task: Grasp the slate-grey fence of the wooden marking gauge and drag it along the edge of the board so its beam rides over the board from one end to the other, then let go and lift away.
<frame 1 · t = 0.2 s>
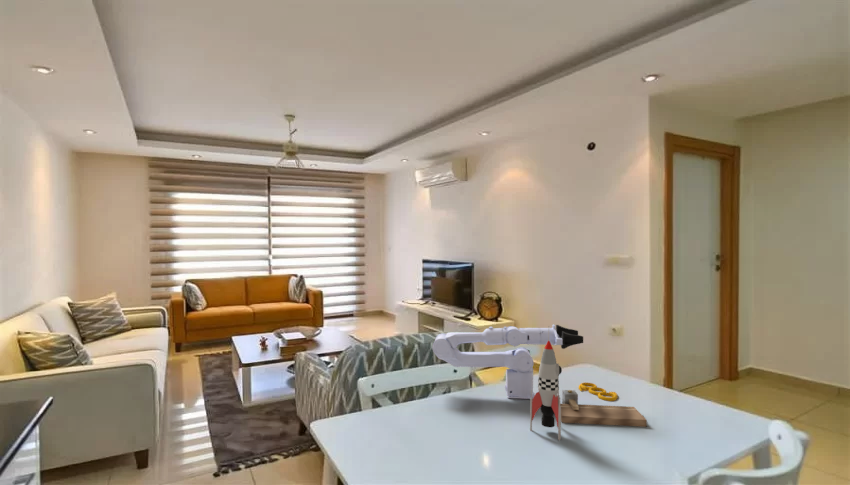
hand: (580, 336, 150), 21 cm above the table, tool horizontal, fingers open, 7 cm apart
toy: (545, 432, 124), on the table
gauge: (569, 407, 142), on the table
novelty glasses: (597, 394, 156), on the table
board: (599, 417, 134), on the table
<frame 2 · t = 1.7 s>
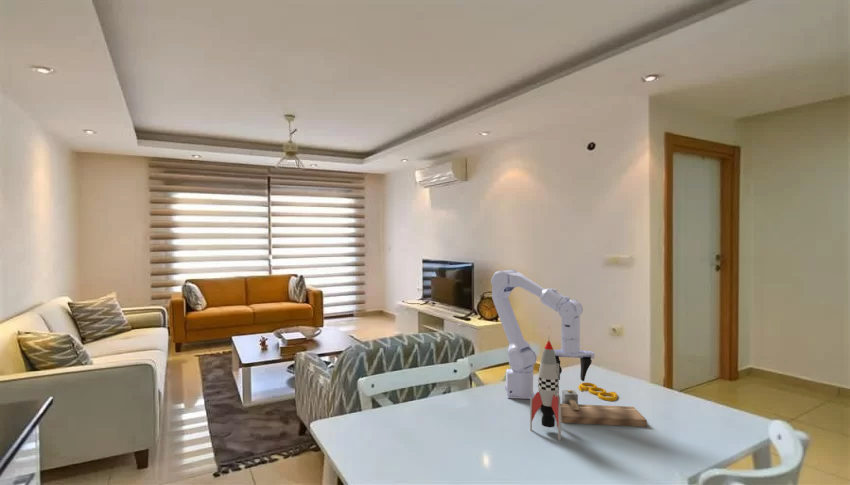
hand: (570, 379, 142), 9 cm above the table, tool pointing down, fingers open, 7 cm apart
nothing on the table moved.
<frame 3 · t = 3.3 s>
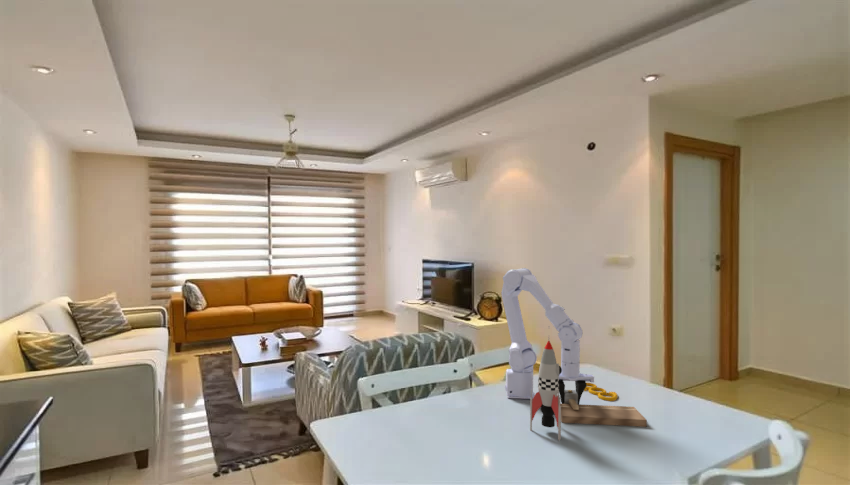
hand: (569, 403, 142), 1 cm above the table, tool pointing down, fingers closed on gauge, 4 cm apart
gauge: (569, 407, 142), on the table, touching gripper
everything else where it was.
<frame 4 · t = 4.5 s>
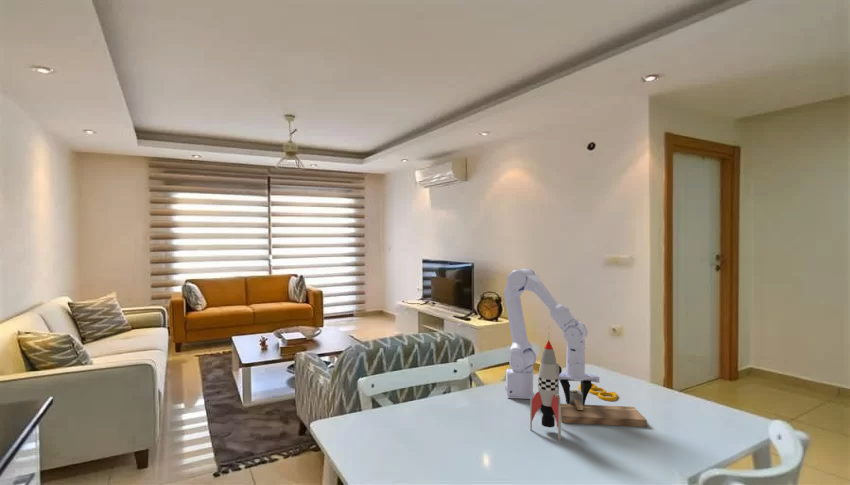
hand: (575, 403, 142), 1 cm above the table, tool pointing down, fingers closed on gauge, 4 cm apart
gauge: (575, 407, 142), on the table, touching gripper
everything else where it was.
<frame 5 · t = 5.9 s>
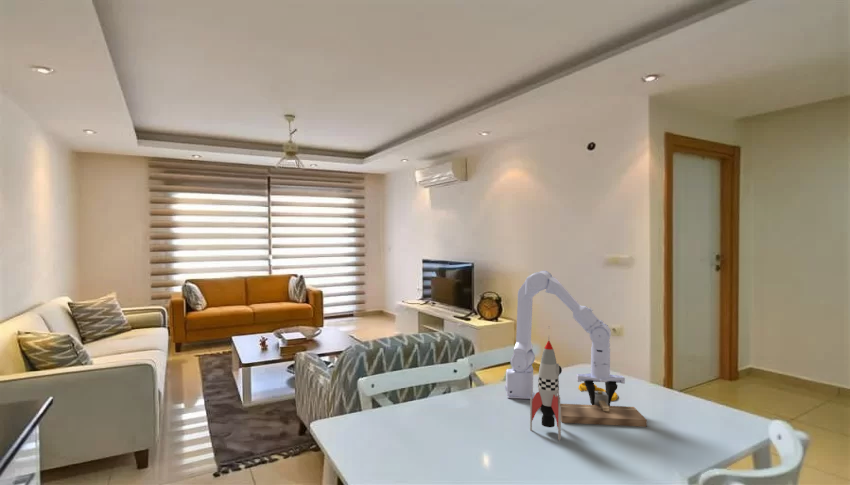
hand: (600, 404, 141), 1 cm above the table, tool pointing down, fingers closed on gauge, 4 cm apart
gauge: (600, 408, 141), on the table, touching gripper
everything else where it was.
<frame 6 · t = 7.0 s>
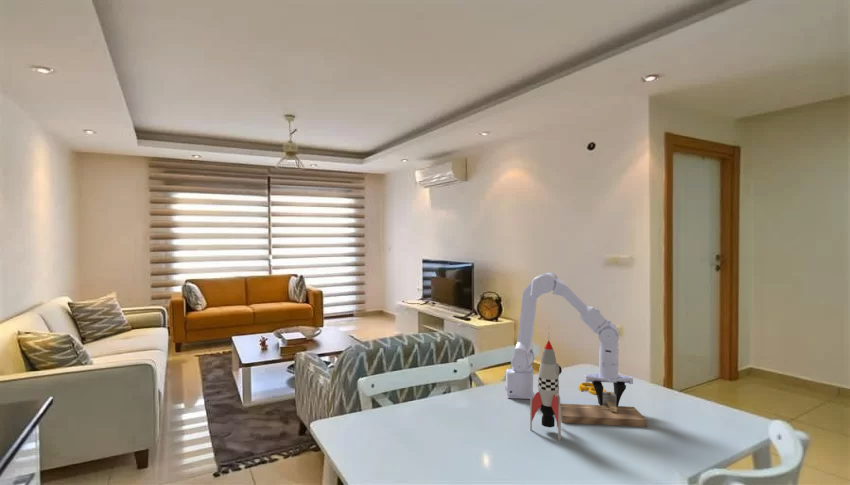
hand: (608, 404, 141), 1 cm above the table, tool pointing down, fingers closed on gauge, 4 cm apart
gauge: (608, 409, 140), on the table, touching gripper
everything else where it was.
when the fingers open (1 cm above the table, at t = 8.0 s): gauge stays where it is, on the table.
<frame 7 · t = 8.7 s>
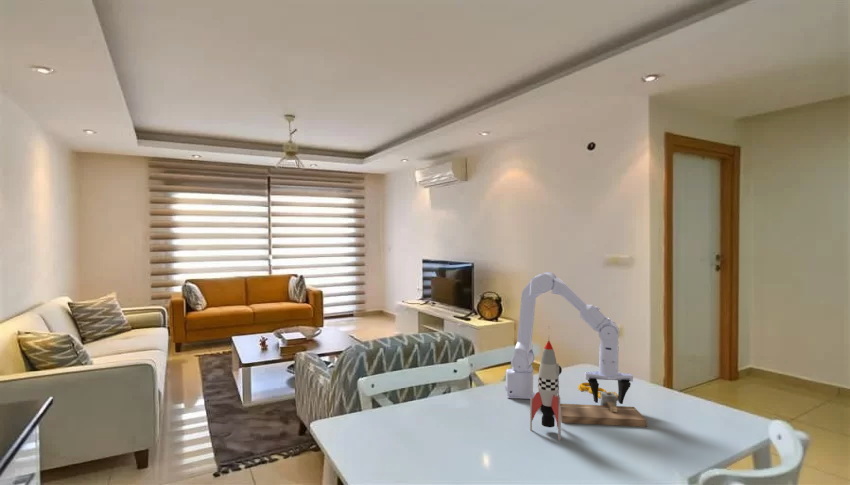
hand: (608, 402, 141), 2 cm above the table, tool pointing down, fingers open, 7 cm apart
gauge: (608, 409, 140), on the table
everything else where it was.
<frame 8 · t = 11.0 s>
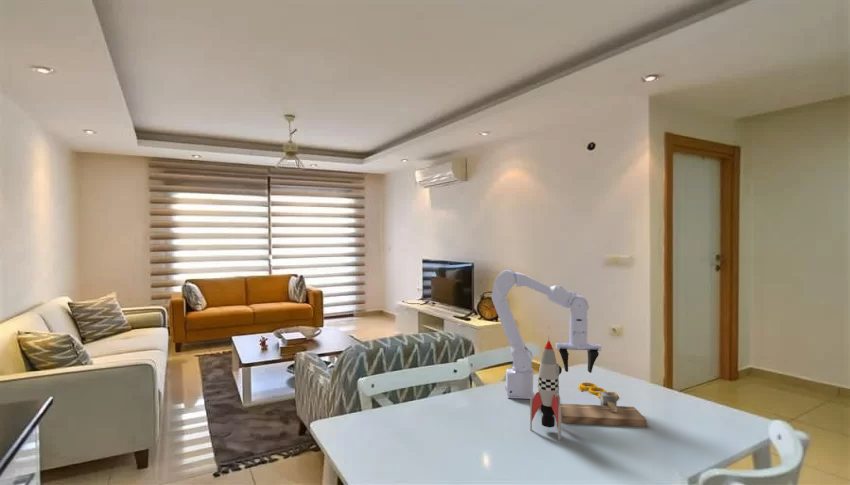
hand: (577, 371, 148), 10 cm above the table, tool pointing down, fingers open, 7 cm apart
nothing on the table moved.
at the end: gauge inside the target area (0.5 cm from its centre), on the table; gauge tilted 0°; gauge moved 12.0 cm from its start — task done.
